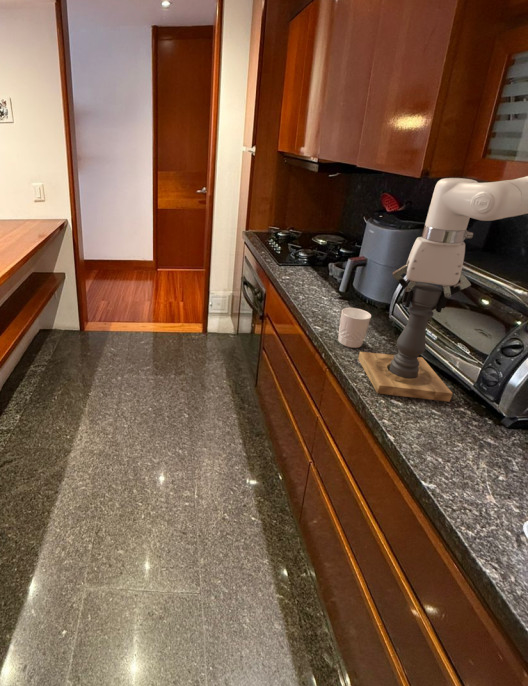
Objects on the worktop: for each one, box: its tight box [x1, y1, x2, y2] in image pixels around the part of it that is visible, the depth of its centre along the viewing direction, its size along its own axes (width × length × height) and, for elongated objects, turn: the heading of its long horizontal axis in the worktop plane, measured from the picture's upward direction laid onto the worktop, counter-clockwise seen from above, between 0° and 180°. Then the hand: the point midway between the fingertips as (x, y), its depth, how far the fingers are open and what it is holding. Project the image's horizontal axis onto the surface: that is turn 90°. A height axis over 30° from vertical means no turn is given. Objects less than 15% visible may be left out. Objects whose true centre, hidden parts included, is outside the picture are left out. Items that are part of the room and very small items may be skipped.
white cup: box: [337, 307, 372, 349], centre depth 117 cm, size 8×8×10 cm
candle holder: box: [389, 282, 442, 379], centre depth 96 cm, size 6×6×25 cm
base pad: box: [357, 351, 453, 403], centre depth 101 cm, size 16×16×2 cm
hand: (421, 307), depth 94 cm, fingers closed on candle holder, 5 cm apart
